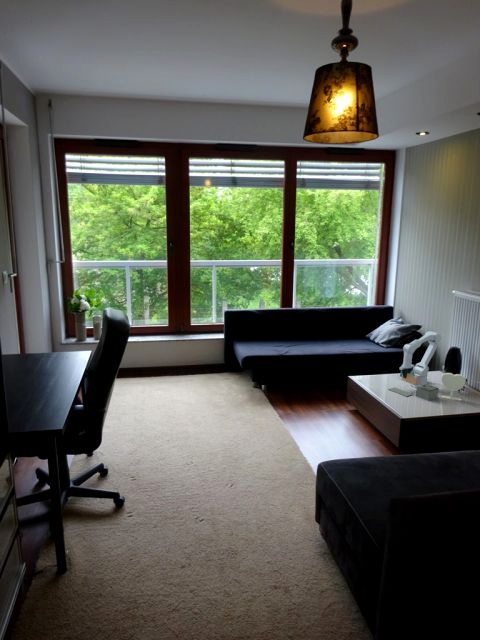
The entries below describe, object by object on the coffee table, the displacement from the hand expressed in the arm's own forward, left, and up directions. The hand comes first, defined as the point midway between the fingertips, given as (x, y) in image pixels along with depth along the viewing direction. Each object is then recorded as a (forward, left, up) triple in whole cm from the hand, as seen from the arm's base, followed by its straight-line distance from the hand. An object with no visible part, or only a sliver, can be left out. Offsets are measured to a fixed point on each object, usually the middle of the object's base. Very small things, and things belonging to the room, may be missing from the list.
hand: (405, 377), depth 341 cm
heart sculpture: (-14, +29, -9) cm, 34 cm away
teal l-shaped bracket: (-26, -12, -9) cm, 30 cm away
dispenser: (0, +19, -9) cm, 21 cm away
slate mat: (+9, +3, -9) cm, 13 cm away
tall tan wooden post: (0, +3, -3) cm, 4 cm away
